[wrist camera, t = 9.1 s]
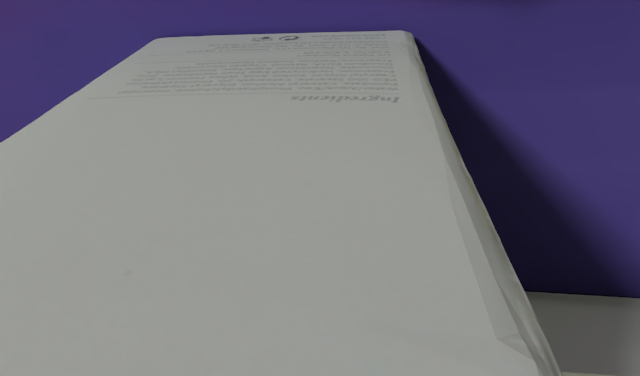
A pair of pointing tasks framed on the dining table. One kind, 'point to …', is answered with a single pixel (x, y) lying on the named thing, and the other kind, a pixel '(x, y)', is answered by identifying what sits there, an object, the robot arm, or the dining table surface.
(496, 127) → the dining table surface
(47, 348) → the skincare box
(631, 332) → the tray
